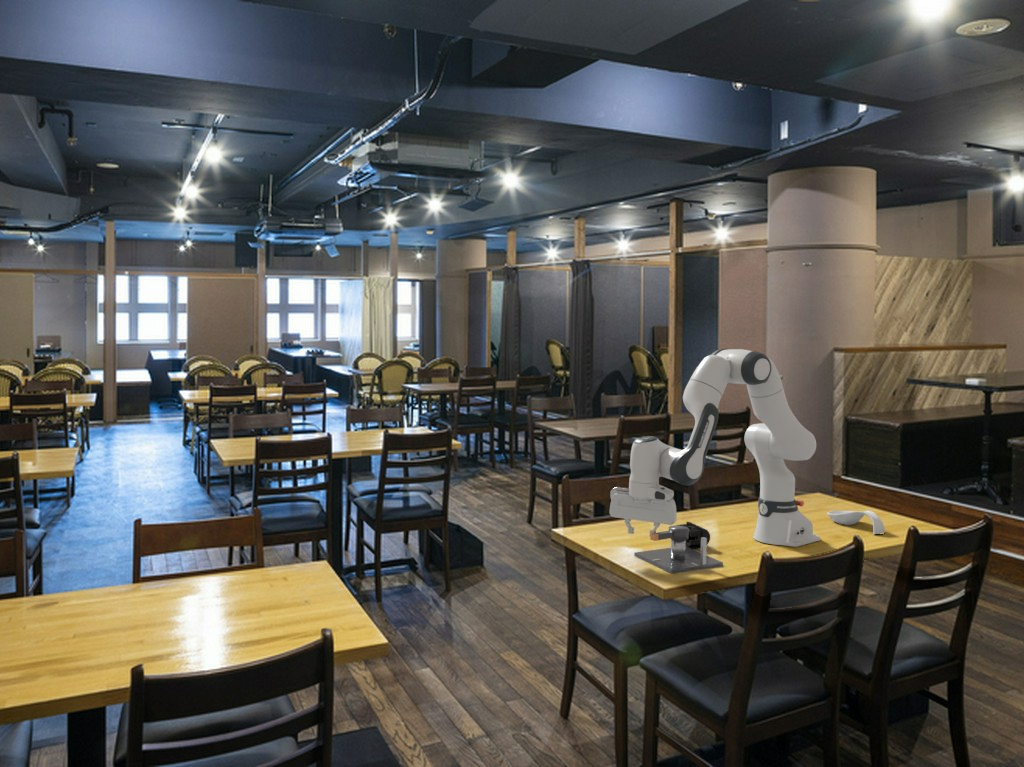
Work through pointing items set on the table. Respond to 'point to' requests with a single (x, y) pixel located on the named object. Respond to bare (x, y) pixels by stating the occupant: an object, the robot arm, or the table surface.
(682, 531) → the collar
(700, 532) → the end cap
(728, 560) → the table surface
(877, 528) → the spoon rest
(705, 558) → the mount base
